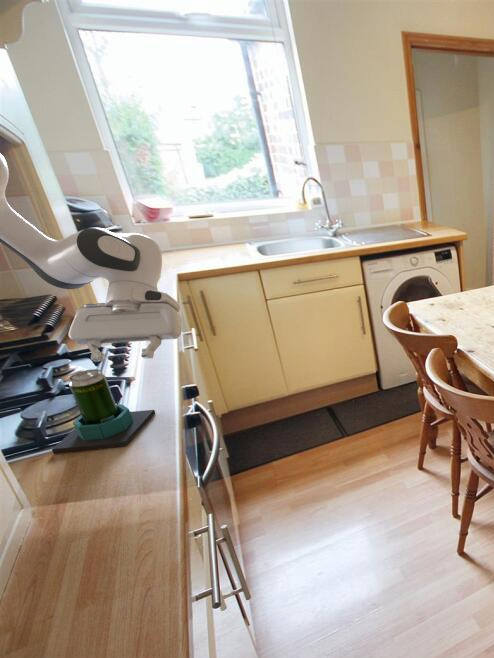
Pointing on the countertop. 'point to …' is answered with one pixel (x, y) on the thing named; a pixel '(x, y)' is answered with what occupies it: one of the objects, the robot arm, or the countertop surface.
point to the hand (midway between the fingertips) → (122, 359)
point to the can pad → (107, 442)
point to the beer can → (93, 396)
